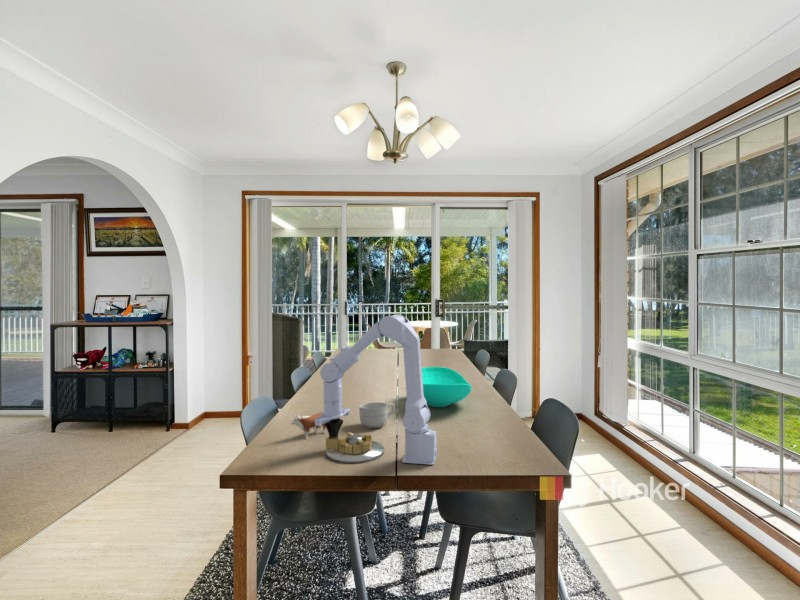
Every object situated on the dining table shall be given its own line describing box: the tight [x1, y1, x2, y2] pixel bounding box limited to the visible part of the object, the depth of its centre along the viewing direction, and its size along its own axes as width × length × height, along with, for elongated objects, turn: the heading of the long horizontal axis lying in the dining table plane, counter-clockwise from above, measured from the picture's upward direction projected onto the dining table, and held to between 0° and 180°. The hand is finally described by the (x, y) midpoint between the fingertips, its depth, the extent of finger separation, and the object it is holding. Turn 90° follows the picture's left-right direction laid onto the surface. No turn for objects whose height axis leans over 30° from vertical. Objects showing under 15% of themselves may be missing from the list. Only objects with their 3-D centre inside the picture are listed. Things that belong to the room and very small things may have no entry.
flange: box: [325, 434, 385, 464], centre depth 144 cm, size 18×18×5 cm
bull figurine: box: [291, 412, 327, 440], centre depth 160 cm, size 4×13×8 cm, turn 135°
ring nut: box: [325, 431, 373, 454], centre depth 145 cm, size 10×14×3 cm
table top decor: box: [422, 366, 473, 408], centre depth 200 cm, size 40×28×13 cm
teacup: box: [358, 401, 396, 429], centre depth 171 cm, size 14×11×8 cm
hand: (333, 442), depth 146 cm, fingers closed, pressing on ring nut
